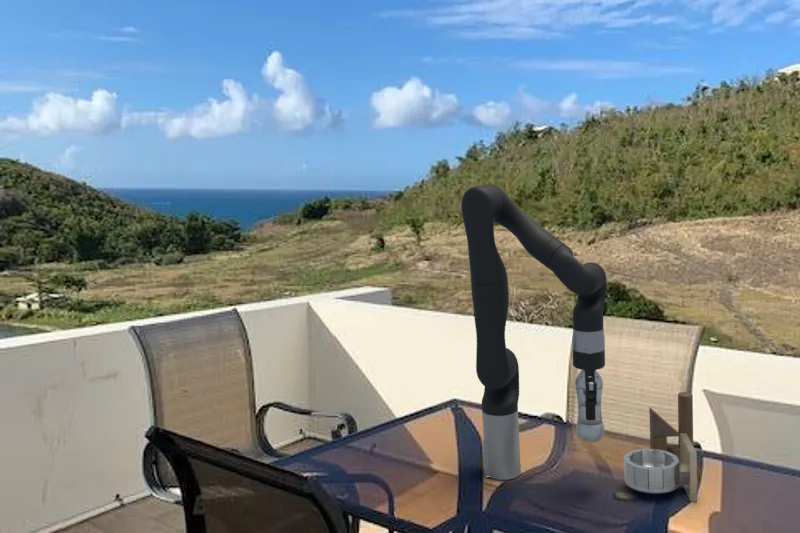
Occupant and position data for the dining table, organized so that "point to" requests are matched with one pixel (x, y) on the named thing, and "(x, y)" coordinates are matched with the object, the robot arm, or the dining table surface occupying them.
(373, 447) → the dining table surface
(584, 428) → the plastic bottle
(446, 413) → the dining table surface
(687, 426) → the wooden wedge with rod
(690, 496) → the ring
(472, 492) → the dining table surface
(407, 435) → the dining table surface
